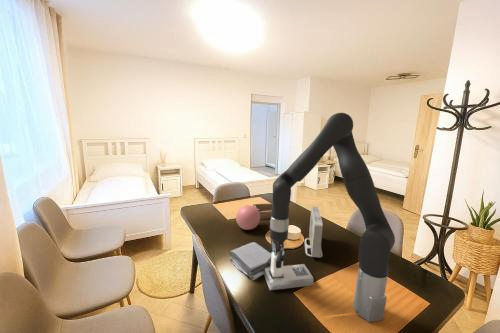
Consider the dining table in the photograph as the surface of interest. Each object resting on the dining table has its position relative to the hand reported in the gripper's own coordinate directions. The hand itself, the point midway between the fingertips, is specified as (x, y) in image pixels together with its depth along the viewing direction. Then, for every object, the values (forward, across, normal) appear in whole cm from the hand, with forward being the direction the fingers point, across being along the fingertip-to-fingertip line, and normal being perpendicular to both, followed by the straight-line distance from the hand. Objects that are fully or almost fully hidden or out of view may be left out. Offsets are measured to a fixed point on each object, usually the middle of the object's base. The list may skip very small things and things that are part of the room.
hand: (276, 264), depth 96 cm
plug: (+5, 0, 0) cm, 5 cm away
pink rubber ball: (+9, +52, +1) cm, 53 cm away
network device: (+9, +23, -29) cm, 38 cm away
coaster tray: (+9, +72, -15) cm, 74 cm away
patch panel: (+9, 0, -5) cm, 10 cm away
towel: (+9, +13, +8) cm, 18 cm away
